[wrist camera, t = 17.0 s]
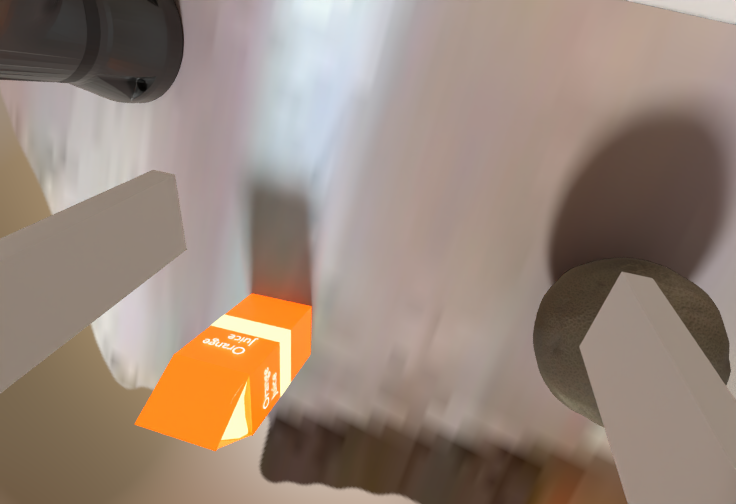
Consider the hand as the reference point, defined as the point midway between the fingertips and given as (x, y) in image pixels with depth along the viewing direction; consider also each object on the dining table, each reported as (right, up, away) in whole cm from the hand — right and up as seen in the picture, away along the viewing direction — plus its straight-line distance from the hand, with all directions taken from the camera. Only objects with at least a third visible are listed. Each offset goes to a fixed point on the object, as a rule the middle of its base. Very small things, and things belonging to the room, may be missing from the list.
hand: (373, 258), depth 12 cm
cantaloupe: (+23, -5, +28) cm, 37 cm away
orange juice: (-12, -9, +41) cm, 44 cm away
